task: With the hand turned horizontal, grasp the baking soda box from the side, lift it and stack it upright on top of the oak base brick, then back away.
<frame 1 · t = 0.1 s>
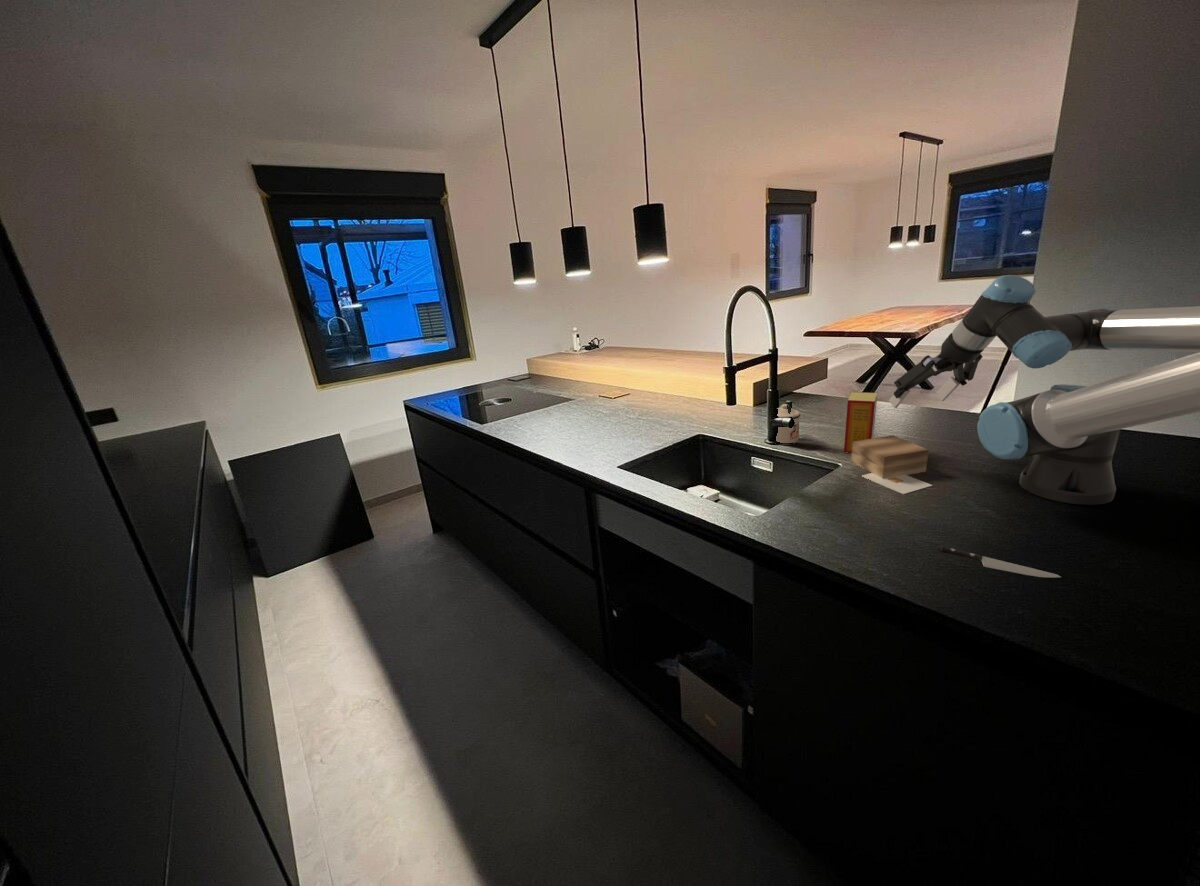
hand: (916, 400, 125), 15 cm above the worktop, tool tilted 35°, fingers open, 13 cm apart
instruction page: (895, 481, 116), on the worktop
chef's knife: (1000, 568, 83), on the worktop
base brick: (886, 466, 124), on the worktop
teacup with lid: (784, 439, 151), on the worktop
baking soda box: (858, 449, 138), on the worktop
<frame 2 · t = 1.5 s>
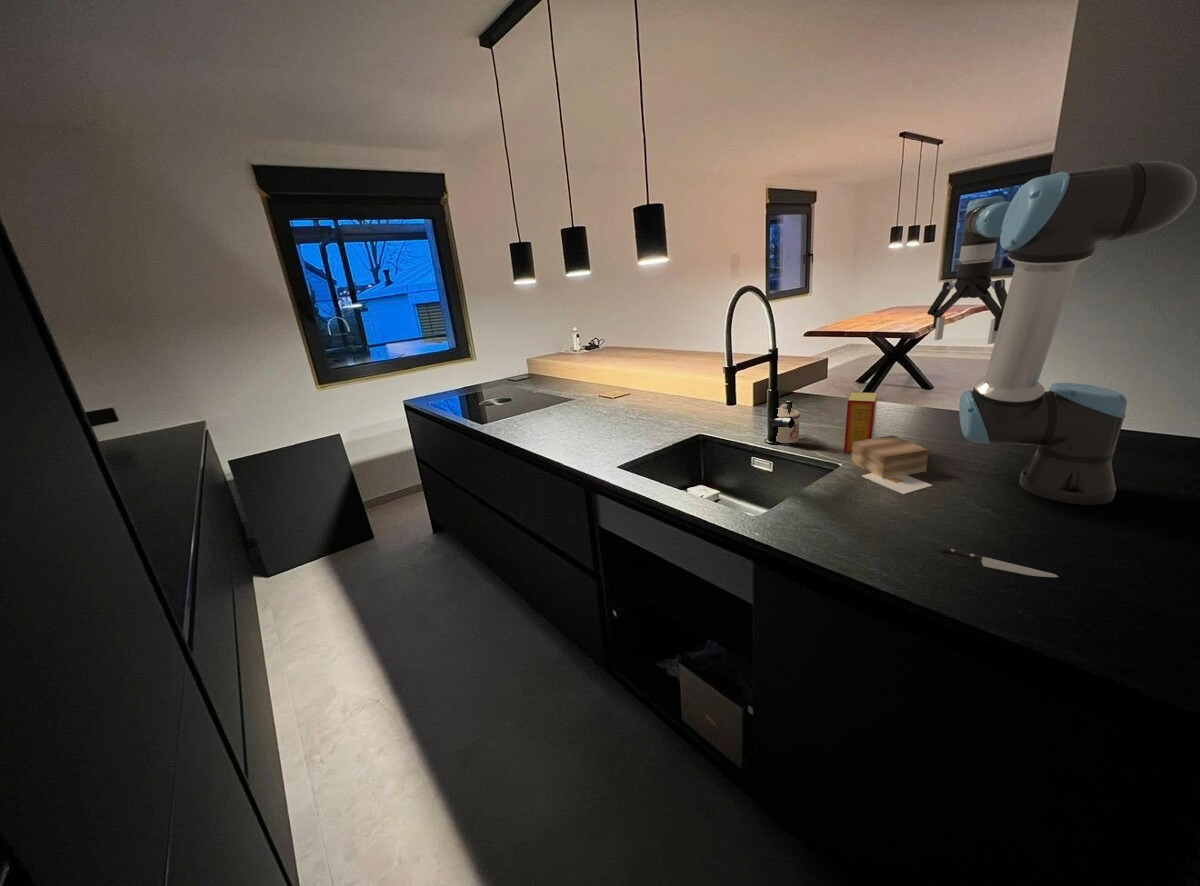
hand: (963, 341, 134), 27 cm above the worktop, tool pointing down, fingers open, 13 cm apart
nothing on the worktop moved.
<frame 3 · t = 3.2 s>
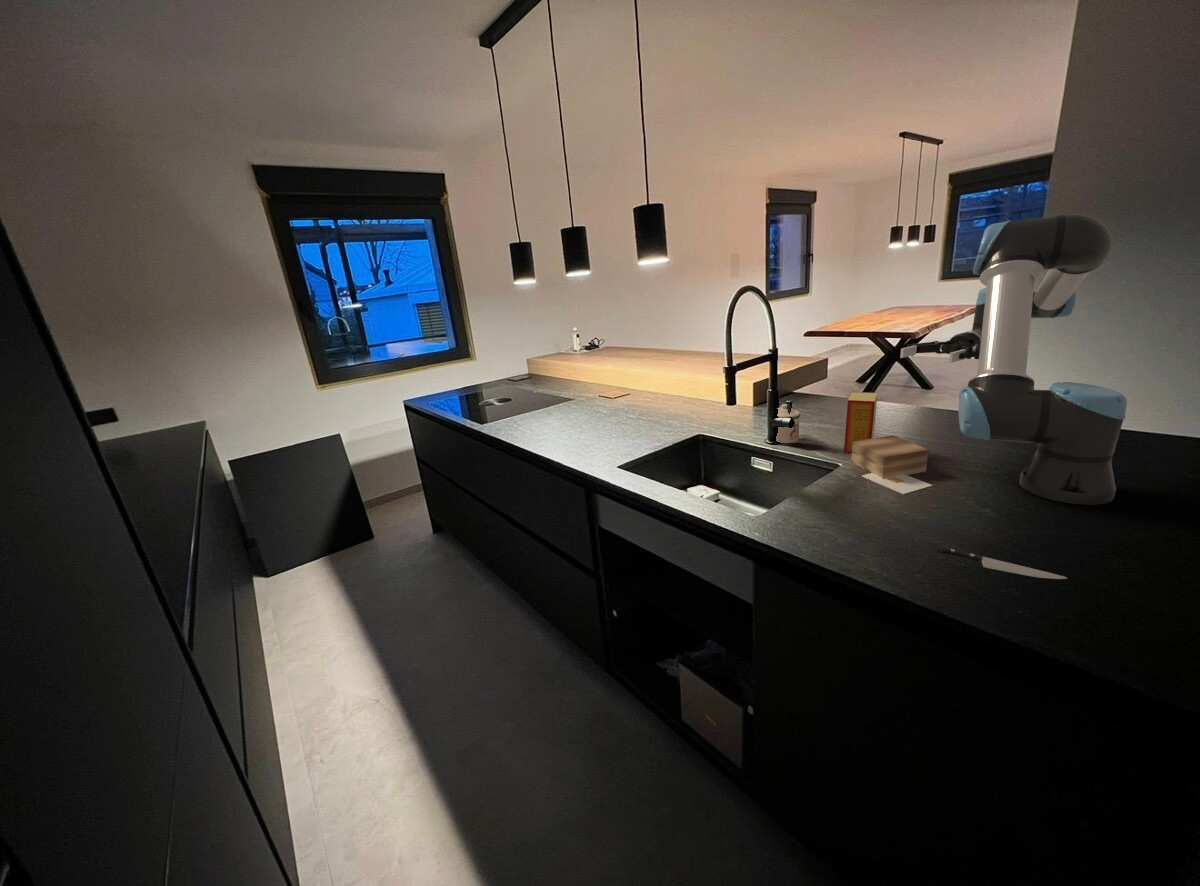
hand: (925, 355, 137), 24 cm above the worktop, tool horizontal, fingers open, 13 cm apart
nothing on the worktop moved.
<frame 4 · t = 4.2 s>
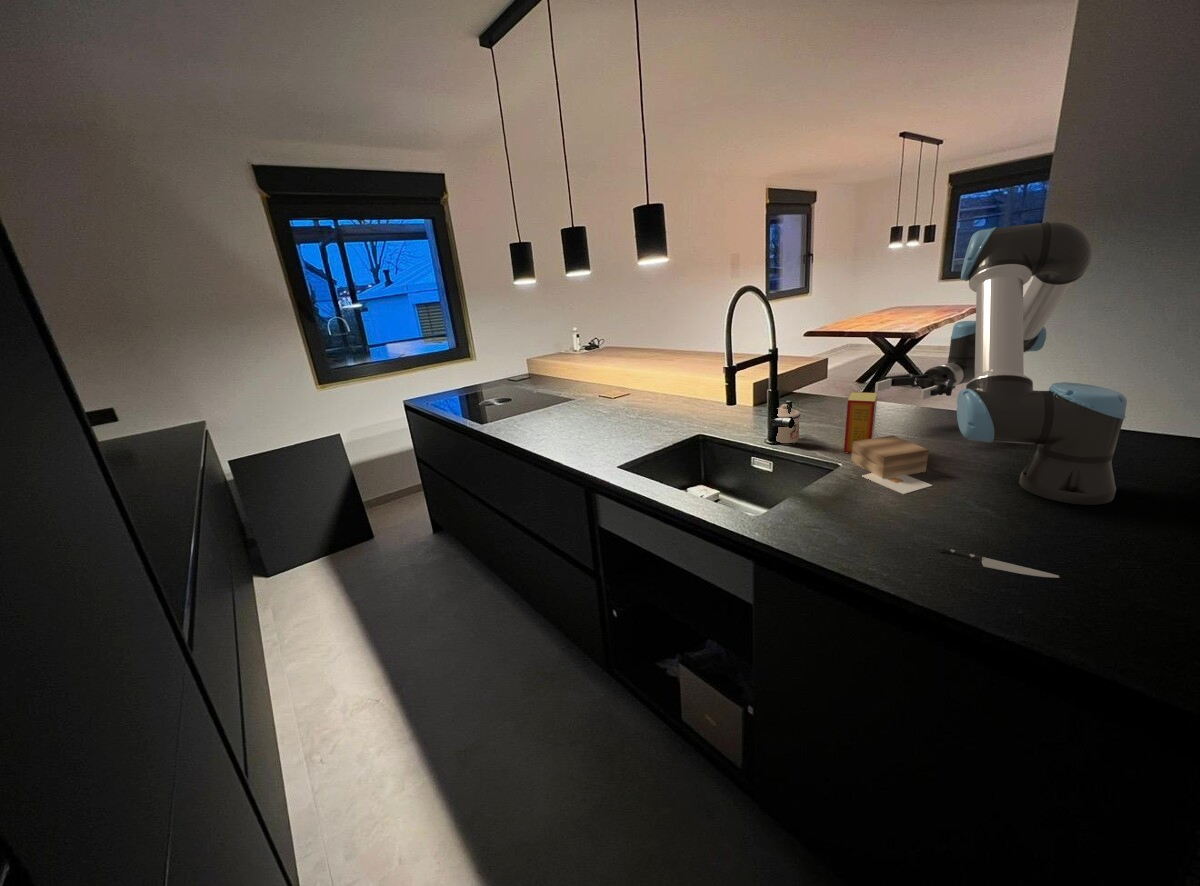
hand: (898, 390, 139), 14 cm above the worktop, tool horizontal, fingers open, 13 cm apart
nothing on the worktop moved.
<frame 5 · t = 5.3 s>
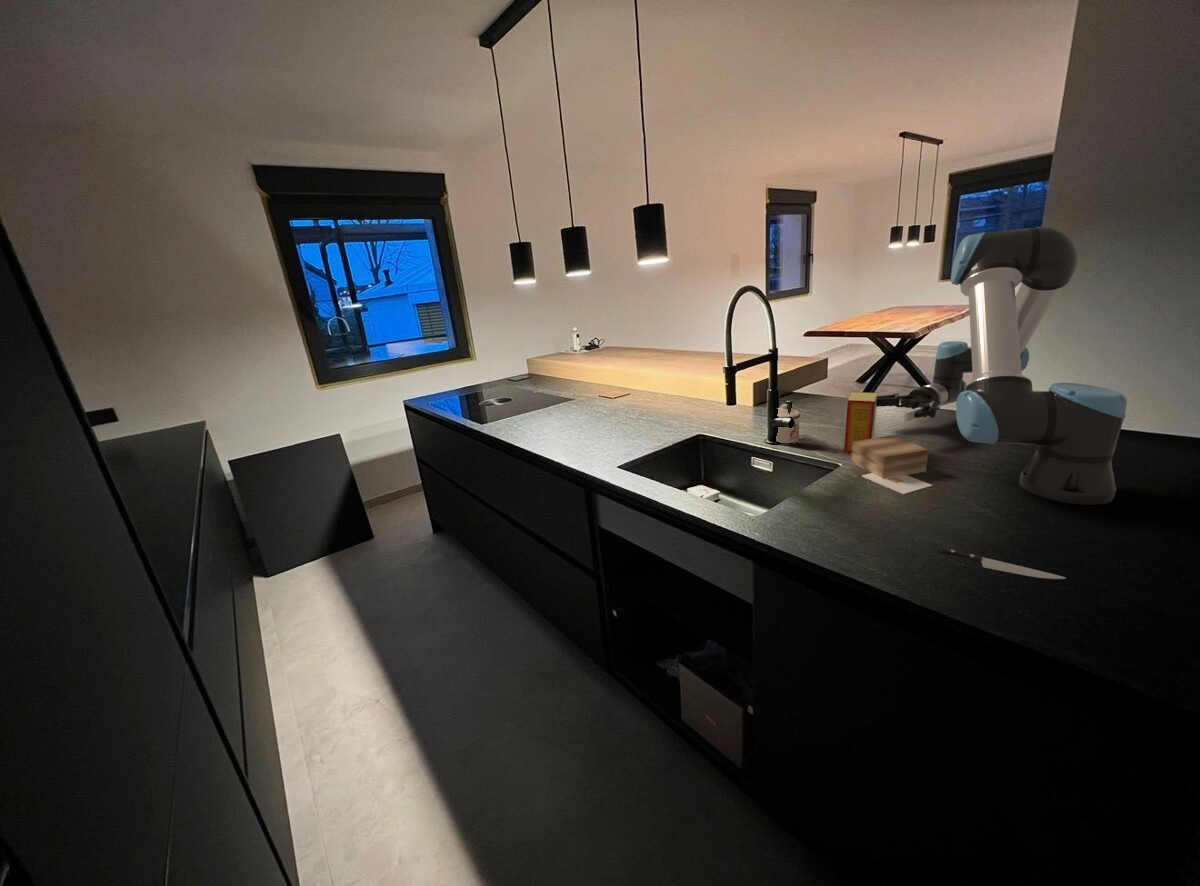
hand: (882, 412, 139), 9 cm above the worktop, tool horizontal, fingers open, 13 cm apart
nothing on the worktop moved.
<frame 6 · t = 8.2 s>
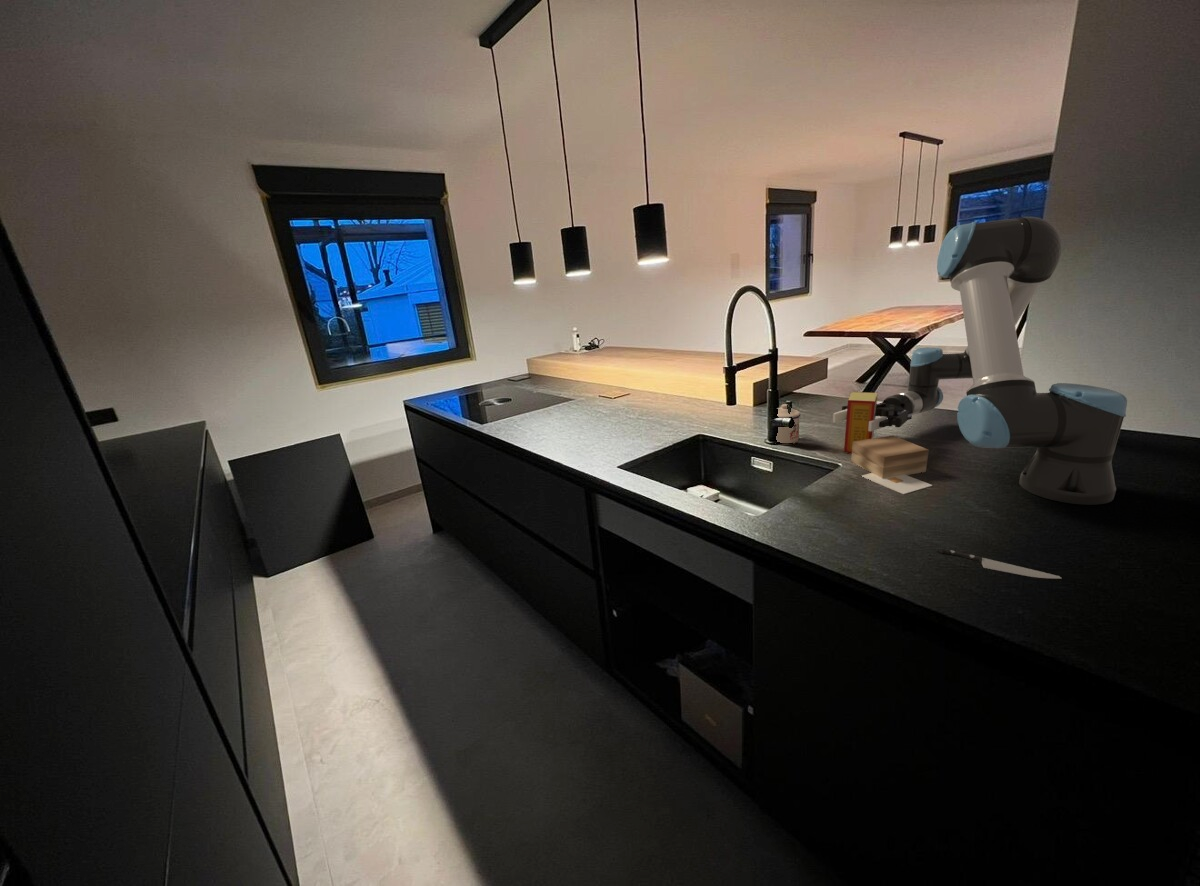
hand: (851, 422, 133), 9 cm above the worktop, tool horizontal, fingers closed on baking soda box, 10 cm apart
baking soda box: (858, 449, 138), on the worktop, touching gripper
everything else where it was.
when the fingers open (16 cm above the worktop, at t = 12.0 s): baking soda box drops 1 cm, resting on base brick.
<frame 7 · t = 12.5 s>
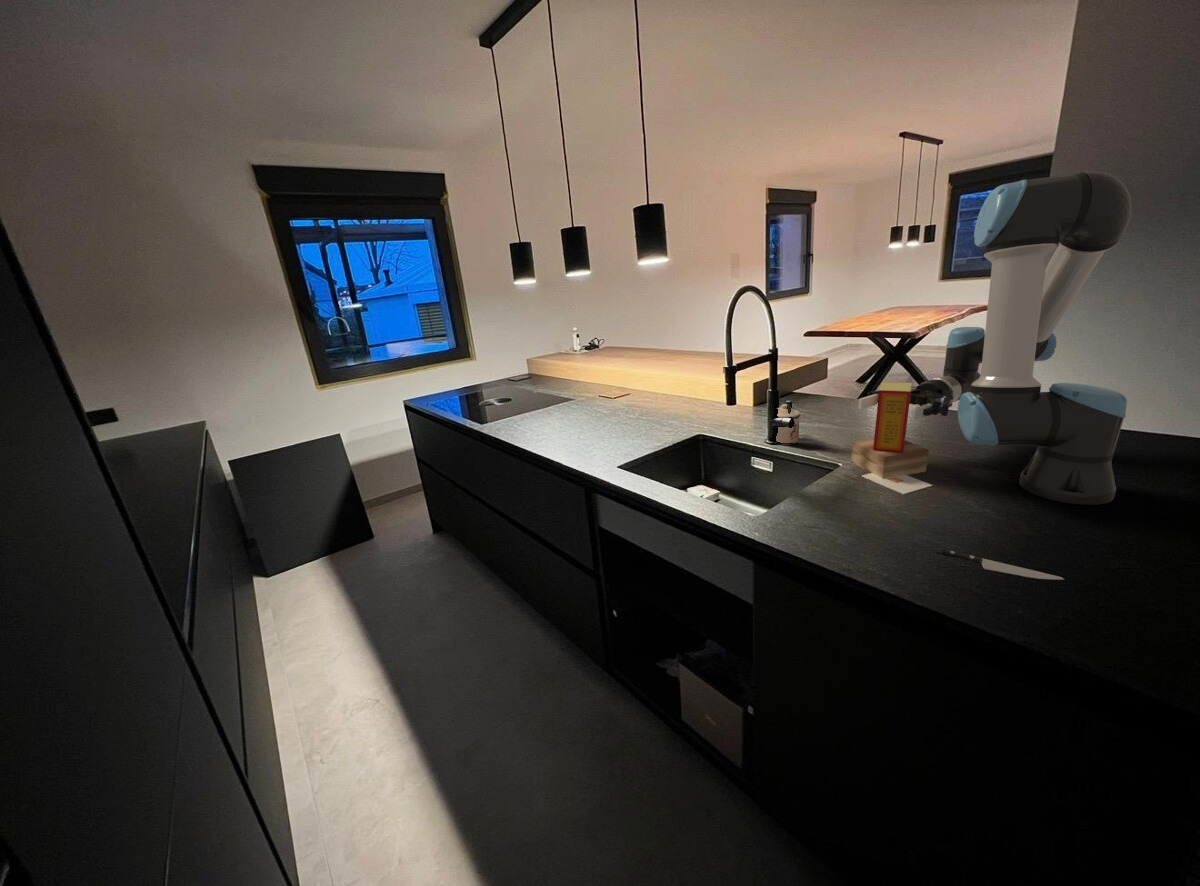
hand: (885, 409, 118), 16 cm above the worktop, tool horizontal, fingers open, 13 cm apart
baking soda box: (889, 446, 123), point 6 cm above the worktop, touching base brick
everything else where it was.
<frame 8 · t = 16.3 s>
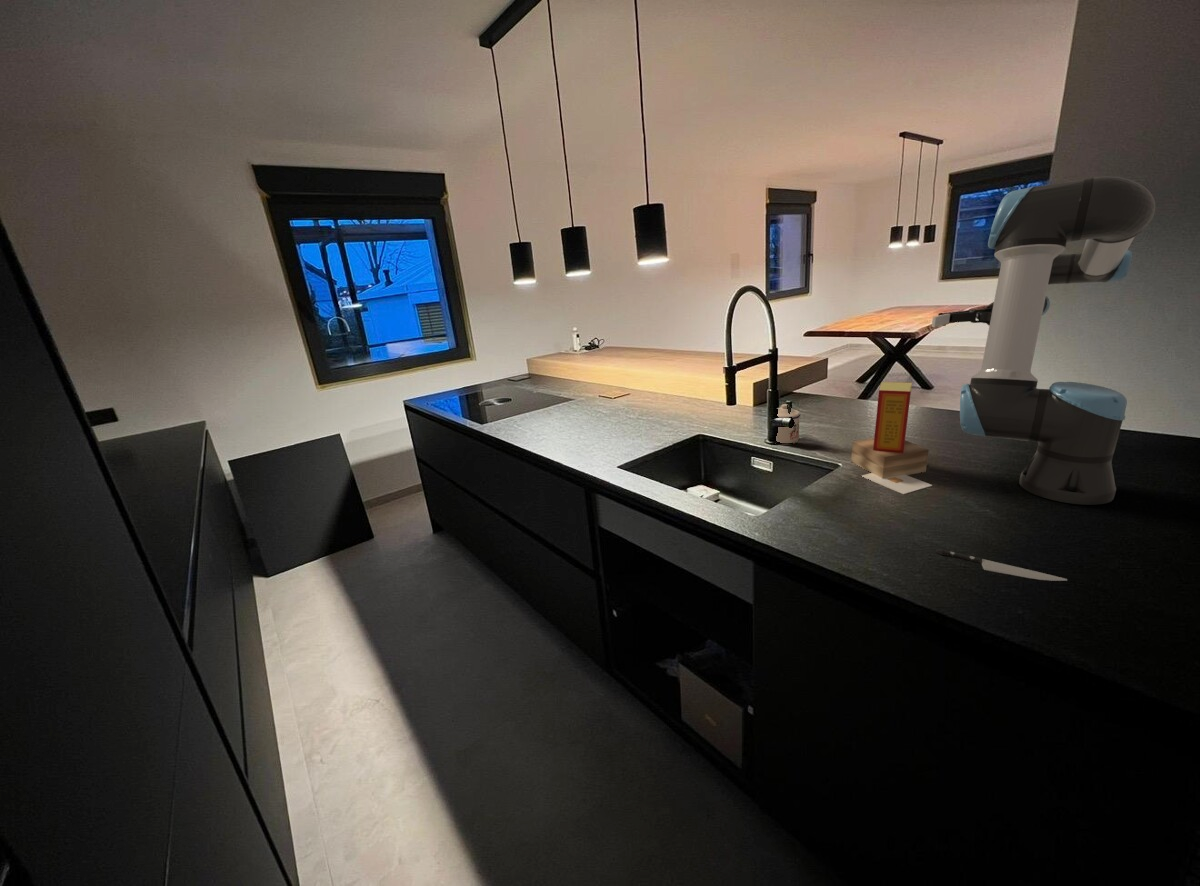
hand: (961, 322, 122), 34 cm above the worktop, tool horizontal, fingers open, 13 cm apart
at the end: baking soda box 0.1 cm from the base brick (horizontally); baking soda box point 5.8 cm above the worktop; baking soda box tilted 0° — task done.
